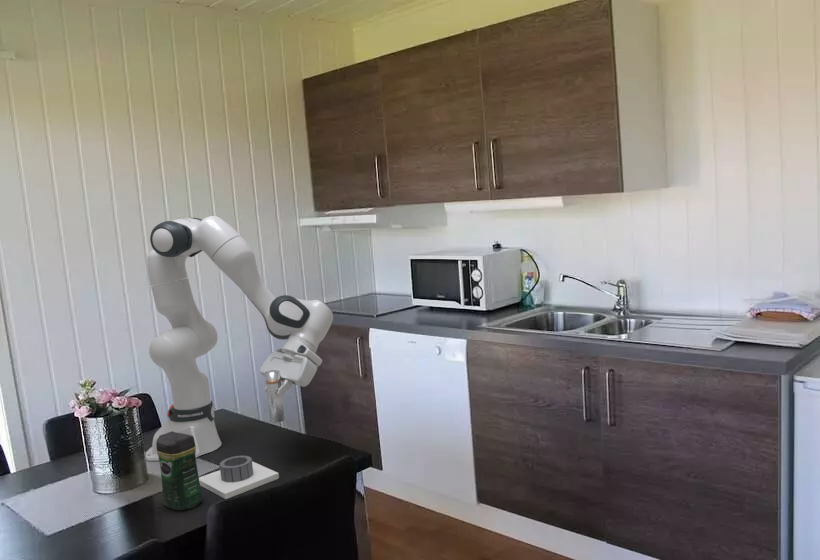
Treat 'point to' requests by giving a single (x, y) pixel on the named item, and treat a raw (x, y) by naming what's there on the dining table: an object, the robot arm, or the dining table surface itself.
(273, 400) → the silver peg
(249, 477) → the collar plate
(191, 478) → the coffee jar
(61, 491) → the dining table surface
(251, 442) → the dining table surface
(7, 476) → the dining table surface
